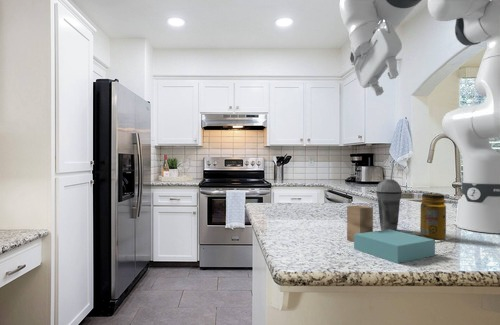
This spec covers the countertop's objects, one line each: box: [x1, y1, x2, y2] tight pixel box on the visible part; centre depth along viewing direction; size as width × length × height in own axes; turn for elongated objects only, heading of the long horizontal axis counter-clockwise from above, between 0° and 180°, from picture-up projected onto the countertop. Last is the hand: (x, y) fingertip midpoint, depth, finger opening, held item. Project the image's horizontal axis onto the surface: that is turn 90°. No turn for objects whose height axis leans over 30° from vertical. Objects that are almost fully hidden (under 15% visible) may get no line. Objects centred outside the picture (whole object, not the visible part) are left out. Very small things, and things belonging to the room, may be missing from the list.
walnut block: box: [346, 204, 374, 243], centre depth 83 cm, size 4×4×9 cm
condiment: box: [415, 193, 453, 244], centre depth 86 cm, size 7×8×12 cm
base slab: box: [353, 229, 436, 264], centre depth 72 cm, size 12×12×4 cm
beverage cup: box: [375, 164, 403, 231], centre depth 96 cm, size 7×7×20 cm
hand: (386, 86), depth 83 cm, fingers open, 8 cm apart
